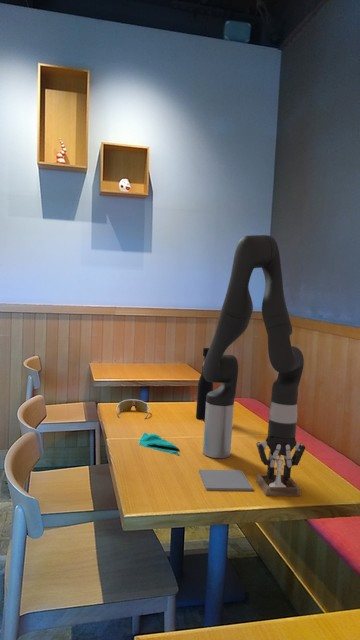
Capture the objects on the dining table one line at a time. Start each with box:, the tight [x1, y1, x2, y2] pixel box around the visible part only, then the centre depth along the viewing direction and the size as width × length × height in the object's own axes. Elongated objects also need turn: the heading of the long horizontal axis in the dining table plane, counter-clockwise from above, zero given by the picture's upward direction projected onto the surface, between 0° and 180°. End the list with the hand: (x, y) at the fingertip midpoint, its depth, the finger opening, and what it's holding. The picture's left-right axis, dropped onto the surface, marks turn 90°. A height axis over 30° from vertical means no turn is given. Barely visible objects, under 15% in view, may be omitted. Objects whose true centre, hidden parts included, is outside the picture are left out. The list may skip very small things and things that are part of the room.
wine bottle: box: [195, 347, 214, 421], centre depth 198 cm, size 6×6×30 cm
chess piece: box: [268, 455, 287, 487], centre depth 129 cm, size 5×5×10 cm
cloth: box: [138, 432, 181, 456], centre depth 161 cm, size 26×14×2 cm, turn 19°
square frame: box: [255, 474, 302, 497], centre depth 129 cm, size 10×10×2 cm
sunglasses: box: [115, 398, 150, 420], centre depth 198 cm, size 14×15×5 cm
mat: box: [198, 469, 254, 492], centre depth 132 cm, size 13×13×1 cm
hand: (278, 479), depth 129 cm, fingers open, 3 cm apart
